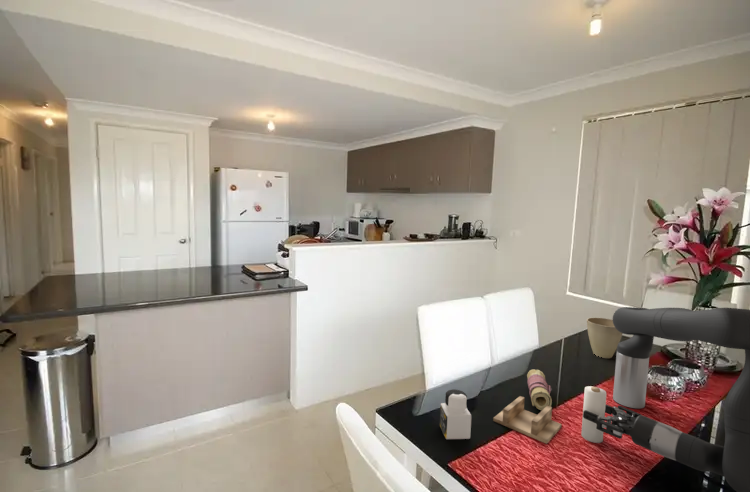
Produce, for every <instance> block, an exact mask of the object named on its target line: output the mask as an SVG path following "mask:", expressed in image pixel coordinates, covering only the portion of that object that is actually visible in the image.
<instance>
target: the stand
mask: <svg viewBox="0 0 750 492" xmlns="http://www.w3.org/2000/svg"><path fill="white" fill-rule="evenodd" d="M552 414H553V407H552V406H551V407H549V406H546V407H545V408H544V409H543V410H540V412H539V413H538V414H536V413H534V412H531V411H529V410H526V409H525V397H524V396H521V395H519V396H518V397H517V398H516V399H514V400H513V401H512V402H511V403H509V404H508V405H507V406H505V407H504V408H502V410H501V411H500V412H499V413H497V414H496V415H495V416H493V418H492V419H493V420H492V421H493V422H495V423H496V424H499V425H501V426H505V427H507V428H509V429H511V430H513V431H516V432H518V433H521V434H522V435H525V436H527V437H530V438H531V439H535V440H536V441H539V442H542V443H544V444H548V443H549V442H550V441H551V440H552V438H554V436H555V435H556V434H557V433H558V432H559V431H560V429H561V428H562V423H559V422H558V421H555V420H552Z"/></svg>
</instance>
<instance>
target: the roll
mask: <svg viewBox="0 0 750 492" xmlns="http://www.w3.org/2000/svg"><path fill="white" fill-rule="evenodd" d="M583 393H584V395H583V405H582V406H583V408H582V413H583V412H584V411H585V410H587V411H589V412H592V413H594V414H596V415H599V416H602V417H606V413H605V407H606V405H607V391H606V390H605V389H603V388H600V387H599V386H598V387H597V386H591V385H590V386H589V385H588V386H585V387H584V392H583ZM603 421H604V420H603ZM596 427H597V424H596V423H594V422H591V421H589V420H587V419H585V418H584V417H583V416H582V420H581V437H582V438H583V439H584V440H586V441H588V442H591V443H595V444H600V443H603V442H604V432H602V431H600V430H598V429H596ZM602 428H604V427H602Z"/></svg>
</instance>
